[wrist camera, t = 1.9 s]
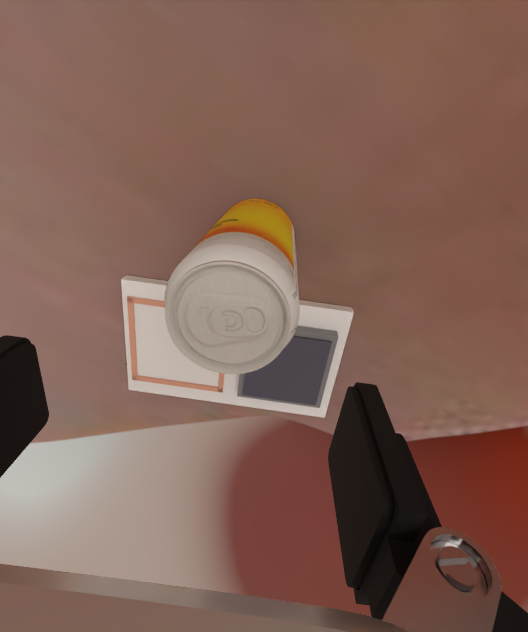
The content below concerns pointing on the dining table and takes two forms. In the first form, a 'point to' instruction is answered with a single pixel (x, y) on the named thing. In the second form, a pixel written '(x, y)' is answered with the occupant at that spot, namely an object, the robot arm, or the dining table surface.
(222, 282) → the beer can
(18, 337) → the robot arm
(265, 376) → the stamping board
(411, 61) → the dining table surface
